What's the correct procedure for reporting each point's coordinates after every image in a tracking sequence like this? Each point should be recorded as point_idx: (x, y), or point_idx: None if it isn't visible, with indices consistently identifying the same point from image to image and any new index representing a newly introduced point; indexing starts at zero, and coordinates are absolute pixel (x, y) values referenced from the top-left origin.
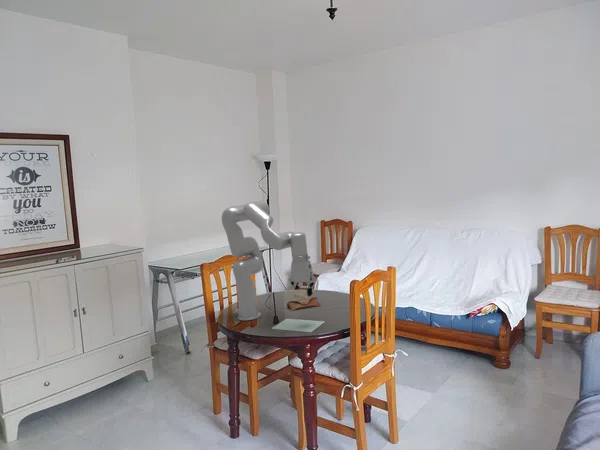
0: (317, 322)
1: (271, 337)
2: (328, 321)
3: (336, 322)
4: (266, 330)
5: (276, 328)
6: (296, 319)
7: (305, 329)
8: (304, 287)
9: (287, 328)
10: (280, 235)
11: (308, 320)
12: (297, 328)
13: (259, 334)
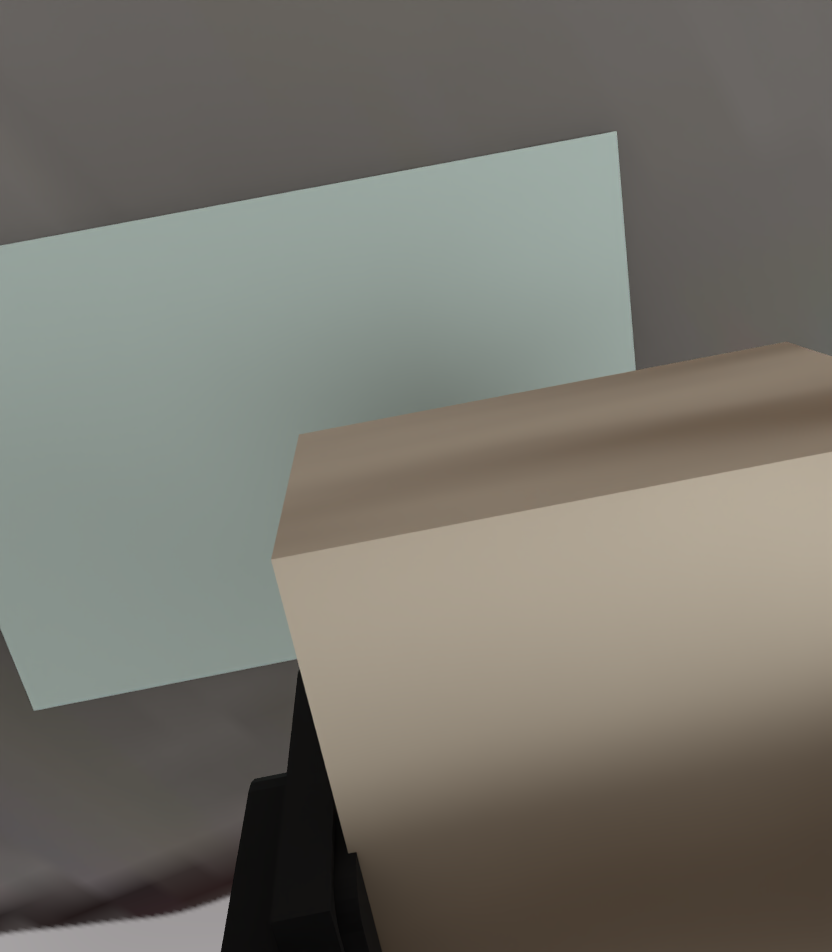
0: (520, 230)
1: None
2: (644, 69)
3: (800, 63)
4: (10, 752)
5: (102, 678)
6: (64, 238)
7: None
8: (613, 742)
9: (252, 619)
10: None
11: (309, 201)
12: None
13: (51, 872)
